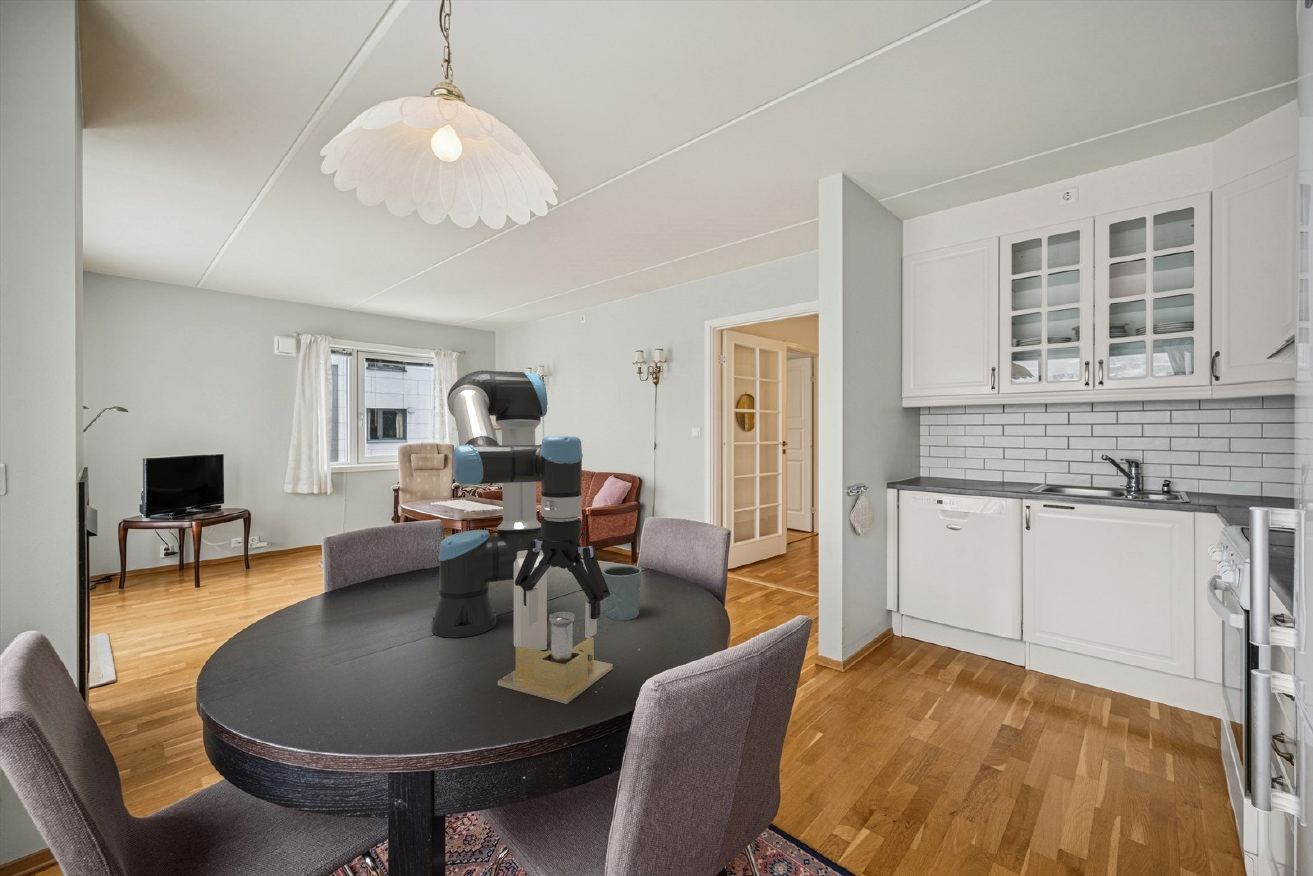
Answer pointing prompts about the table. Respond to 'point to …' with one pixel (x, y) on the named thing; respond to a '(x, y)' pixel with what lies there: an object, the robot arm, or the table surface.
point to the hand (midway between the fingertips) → (560, 629)
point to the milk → (523, 633)
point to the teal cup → (622, 592)
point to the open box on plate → (555, 673)
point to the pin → (561, 636)
